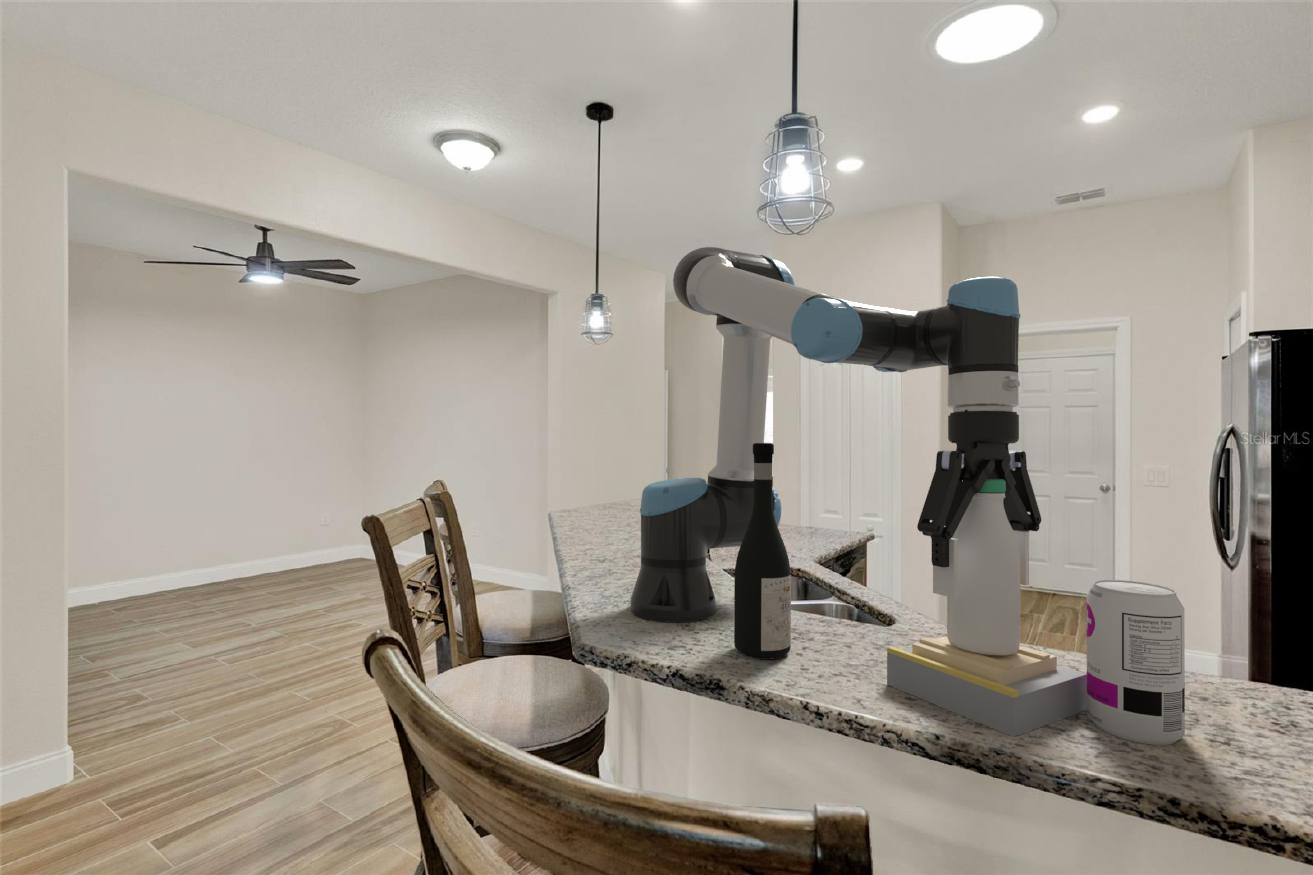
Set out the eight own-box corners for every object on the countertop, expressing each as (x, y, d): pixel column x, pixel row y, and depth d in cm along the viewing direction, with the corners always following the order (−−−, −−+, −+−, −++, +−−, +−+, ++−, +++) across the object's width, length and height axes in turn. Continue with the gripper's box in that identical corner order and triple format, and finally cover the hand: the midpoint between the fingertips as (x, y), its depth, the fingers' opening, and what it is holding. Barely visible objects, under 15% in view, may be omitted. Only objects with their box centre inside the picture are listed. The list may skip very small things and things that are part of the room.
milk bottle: (1030, 659, 70) (1031, 480, 70) (956, 654, 72) (957, 479, 72) (1006, 638, 78) (1007, 477, 78) (939, 634, 79) (941, 475, 79)
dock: (887, 684, 78) (887, 636, 78) (958, 665, 85) (958, 622, 85) (1013, 737, 64) (1013, 679, 64) (1087, 709, 71) (1087, 657, 71)
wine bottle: (800, 651, 90) (801, 443, 91) (772, 666, 84) (774, 442, 85) (752, 639, 96) (753, 442, 96) (723, 652, 90) (724, 442, 90)
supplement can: (1074, 725, 67) (1074, 584, 67) (1102, 706, 72) (1102, 575, 72) (1170, 756, 60) (1169, 600, 61) (1194, 733, 65) (1193, 588, 66)
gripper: (942, 405, 66) (942, 608, 65) (1073, 412, 78) (1073, 584, 78) (884, 408, 72) (884, 593, 72) (1013, 414, 84) (1013, 573, 84)
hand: (982, 589), depth 75 cm, fingers open, 13 cm apart
